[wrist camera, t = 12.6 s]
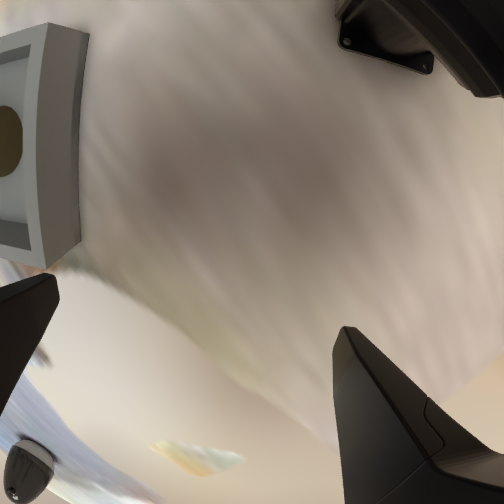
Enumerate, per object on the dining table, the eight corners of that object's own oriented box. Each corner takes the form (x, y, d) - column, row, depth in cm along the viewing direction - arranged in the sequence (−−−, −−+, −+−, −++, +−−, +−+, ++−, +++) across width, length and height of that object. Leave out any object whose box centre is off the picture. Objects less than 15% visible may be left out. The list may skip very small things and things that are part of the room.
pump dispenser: (56, 449, 42) (28, 509, 28) (63, 467, 46) (41, 520, 32) (13, 425, 41) (-17, 479, 27) (24, 446, 45) (-1, 495, 31)
